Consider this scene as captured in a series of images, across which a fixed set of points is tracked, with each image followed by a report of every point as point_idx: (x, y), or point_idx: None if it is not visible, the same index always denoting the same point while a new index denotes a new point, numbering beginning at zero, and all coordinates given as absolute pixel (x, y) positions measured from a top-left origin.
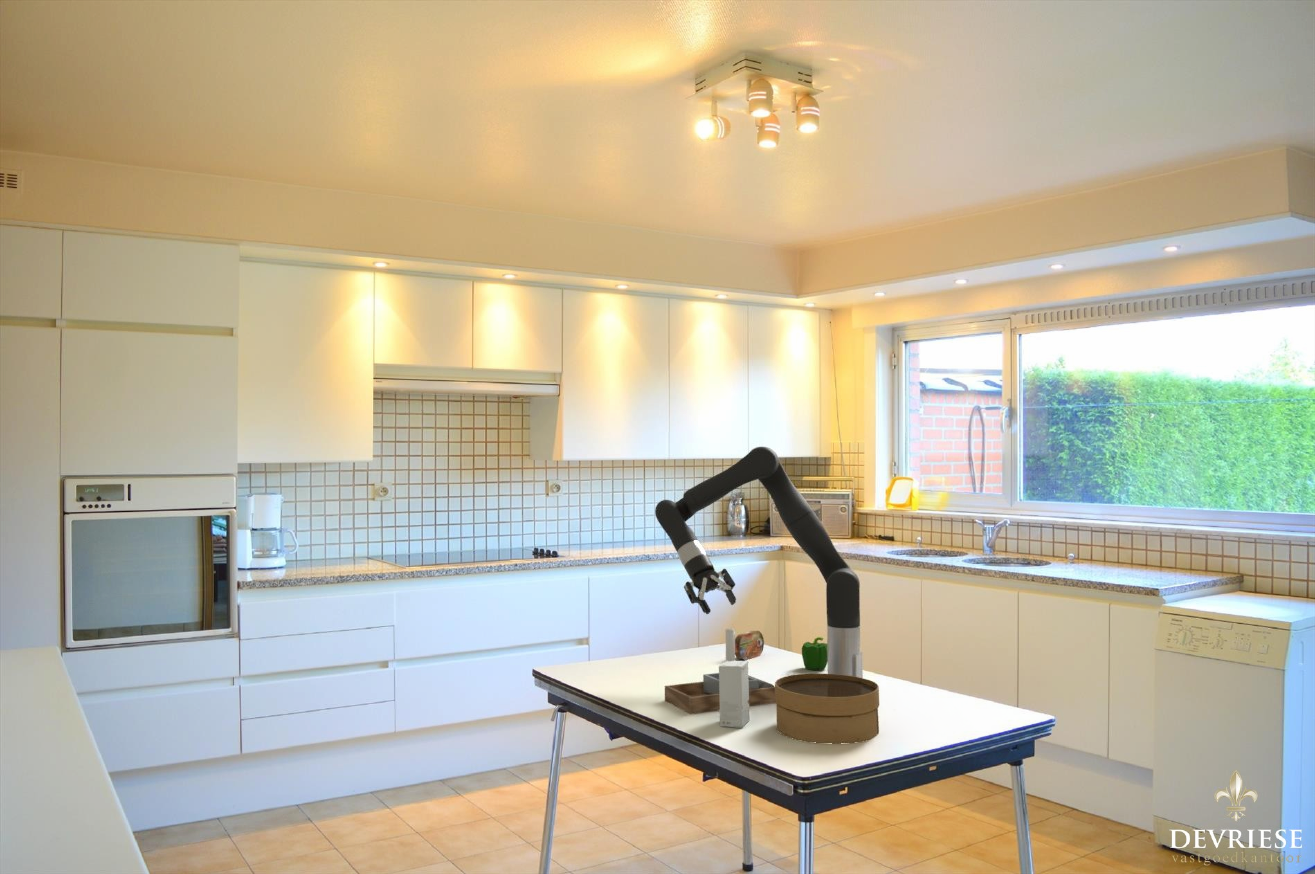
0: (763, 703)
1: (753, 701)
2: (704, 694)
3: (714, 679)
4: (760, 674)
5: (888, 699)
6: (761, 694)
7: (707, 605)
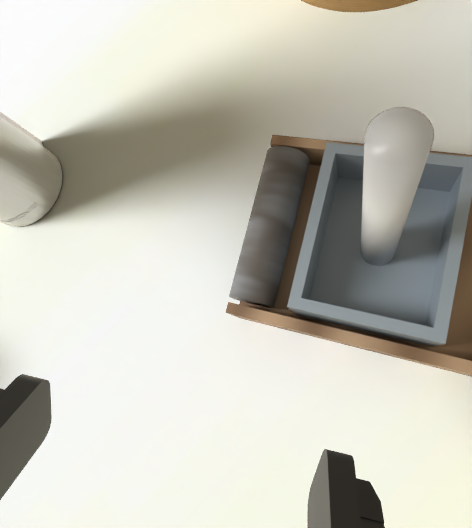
0: None
1: None
2: None
3: (462, 246)
4: (51, 453)
5: (67, 44)
6: None
7: (339, 503)
